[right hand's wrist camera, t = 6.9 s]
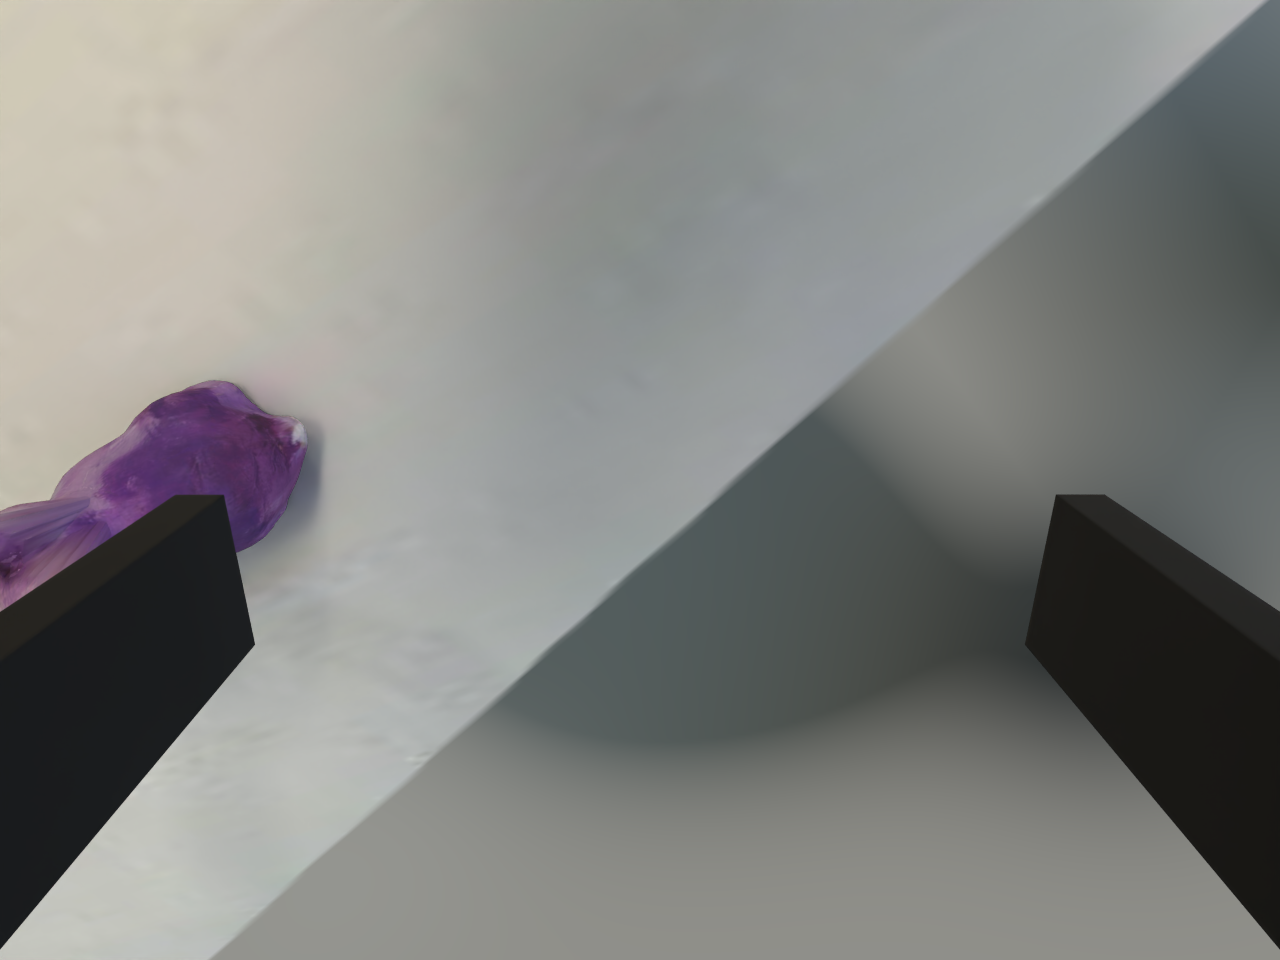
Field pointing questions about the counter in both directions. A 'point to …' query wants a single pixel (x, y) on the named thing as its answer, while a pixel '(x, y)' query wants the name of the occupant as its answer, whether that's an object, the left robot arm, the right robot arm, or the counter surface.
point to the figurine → (158, 481)
